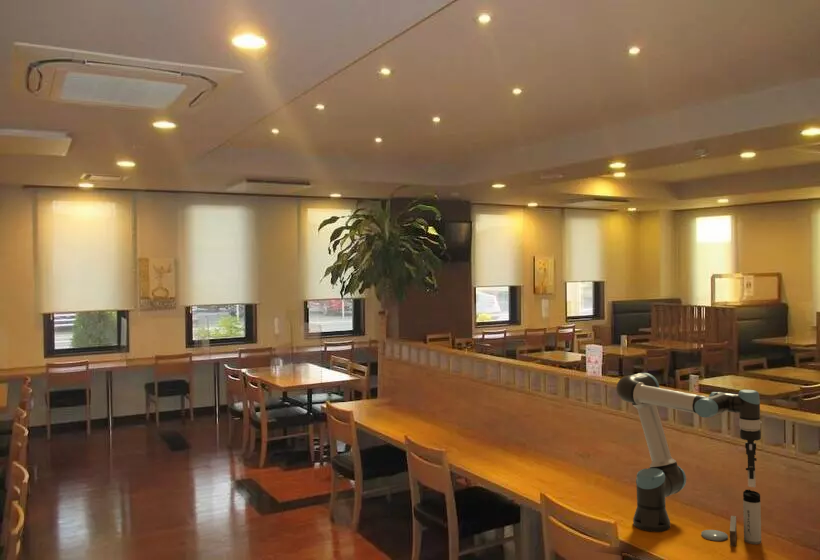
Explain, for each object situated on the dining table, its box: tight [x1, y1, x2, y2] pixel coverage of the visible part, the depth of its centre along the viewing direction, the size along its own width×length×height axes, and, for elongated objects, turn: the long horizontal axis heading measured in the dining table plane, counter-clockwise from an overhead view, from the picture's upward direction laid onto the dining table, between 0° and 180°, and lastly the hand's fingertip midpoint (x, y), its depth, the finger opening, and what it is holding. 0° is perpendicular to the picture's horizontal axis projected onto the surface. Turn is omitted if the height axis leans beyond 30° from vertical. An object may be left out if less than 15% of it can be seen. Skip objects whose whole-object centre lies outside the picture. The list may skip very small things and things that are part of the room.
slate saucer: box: [700, 529, 729, 542], centre depth 285 cm, size 10×10×1 cm
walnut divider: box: [729, 515, 737, 547], centre depth 283 cm, size 2×18×6 cm, turn 154°
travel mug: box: [742, 489, 762, 545], centre depth 278 cm, size 6×7×20 cm
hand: (751, 481), depth 278 cm, fingers open, 13 cm apart
